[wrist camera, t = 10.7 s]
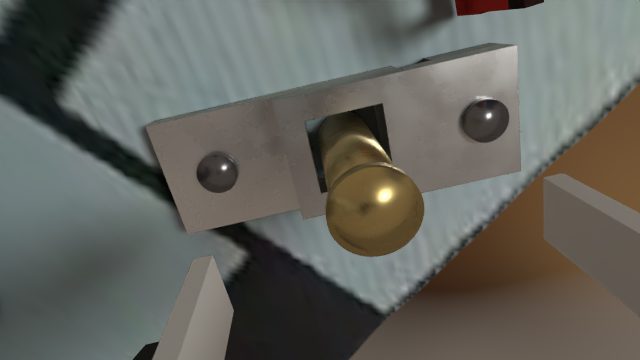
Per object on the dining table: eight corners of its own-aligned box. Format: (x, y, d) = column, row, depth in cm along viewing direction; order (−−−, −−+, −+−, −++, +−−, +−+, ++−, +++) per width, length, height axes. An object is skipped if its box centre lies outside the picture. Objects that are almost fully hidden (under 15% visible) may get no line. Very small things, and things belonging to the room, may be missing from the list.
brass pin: (321, 169, 32) (336, 265, 19) (308, 115, 31) (316, 180, 18) (376, 157, 32) (429, 245, 19) (366, 102, 30) (417, 157, 17)
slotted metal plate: (193, 222, 33) (178, 251, 29) (154, 120, 30) (131, 135, 26) (495, 154, 33) (525, 173, 28) (489, 42, 29) (522, 45, 25)
